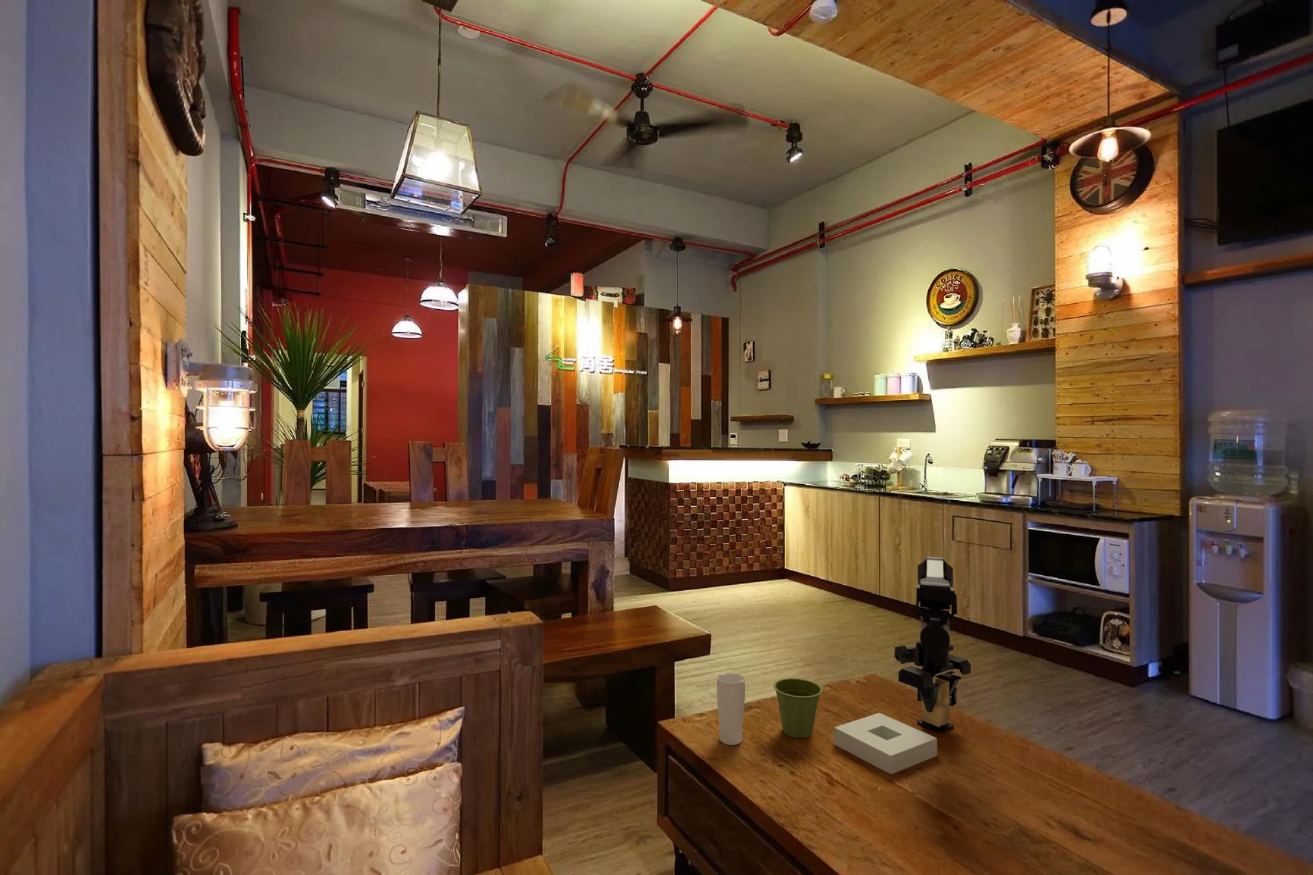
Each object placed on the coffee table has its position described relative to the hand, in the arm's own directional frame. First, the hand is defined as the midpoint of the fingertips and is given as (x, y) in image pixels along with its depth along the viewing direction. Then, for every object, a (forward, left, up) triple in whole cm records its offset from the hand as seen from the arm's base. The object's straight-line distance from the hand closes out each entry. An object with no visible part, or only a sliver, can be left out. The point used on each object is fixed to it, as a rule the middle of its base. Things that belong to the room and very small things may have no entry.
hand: (935, 709), depth 139 cm
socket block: (+4, -11, -12) cm, 17 cm away
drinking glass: (+32, -33, -13) cm, 47 cm away
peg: (0, 0, -3) cm, 3 cm away
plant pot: (+15, -28, -13) cm, 34 cm away
